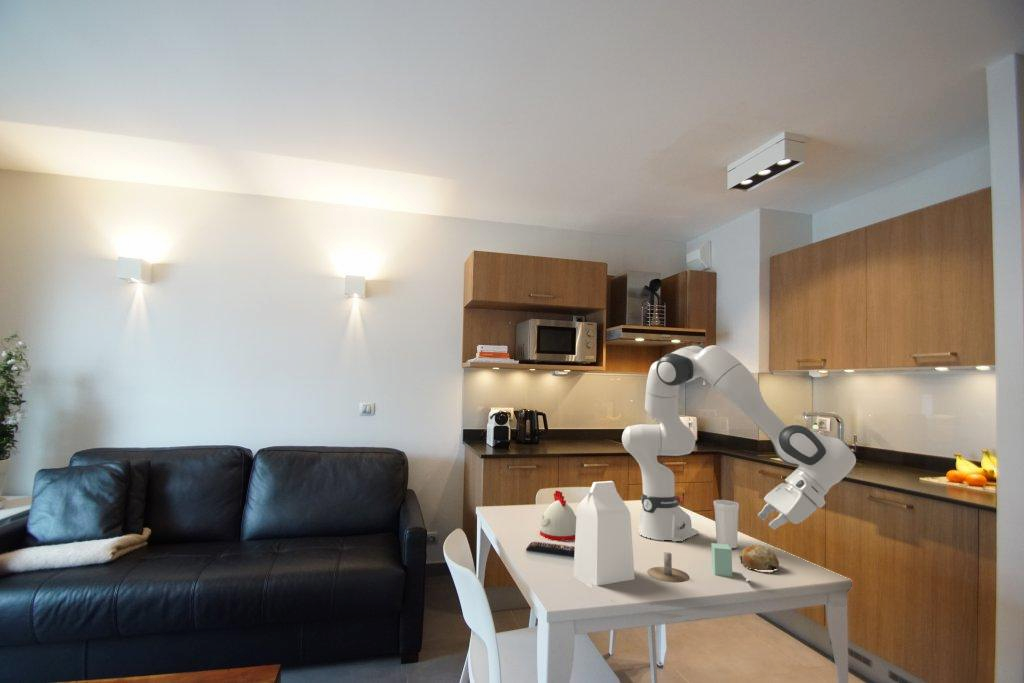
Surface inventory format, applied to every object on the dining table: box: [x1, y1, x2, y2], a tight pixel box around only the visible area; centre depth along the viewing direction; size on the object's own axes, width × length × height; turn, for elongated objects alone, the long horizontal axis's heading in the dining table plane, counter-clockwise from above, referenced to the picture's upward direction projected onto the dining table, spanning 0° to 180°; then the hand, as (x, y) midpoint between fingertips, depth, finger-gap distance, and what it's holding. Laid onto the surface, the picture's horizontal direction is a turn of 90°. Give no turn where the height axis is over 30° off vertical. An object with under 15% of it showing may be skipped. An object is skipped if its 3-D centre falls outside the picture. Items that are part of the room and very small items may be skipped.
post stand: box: [646, 551, 690, 584], centre depth 132 cm, size 11×11×7 cm
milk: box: [573, 480, 636, 589], centre depth 132 cm, size 12×12×26 cm
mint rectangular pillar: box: [710, 542, 733, 578], centre depth 134 cm, size 4×4×8 cm
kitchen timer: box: [539, 490, 576, 542], centre depth 172 cm, size 14×14×15 cm
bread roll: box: [738, 544, 780, 570], centre depth 143 cm, size 10×10×8 cm
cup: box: [712, 499, 740, 549], centre depth 162 cm, size 8×8×14 cm
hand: (765, 522), depth 133 cm, fingers open, 8 cm apart
